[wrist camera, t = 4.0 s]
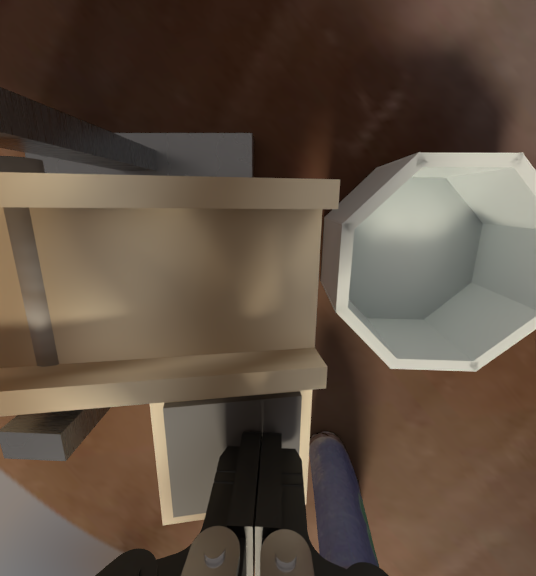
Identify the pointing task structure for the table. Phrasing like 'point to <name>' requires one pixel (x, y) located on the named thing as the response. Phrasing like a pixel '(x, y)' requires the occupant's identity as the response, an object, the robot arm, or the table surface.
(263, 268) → the lever
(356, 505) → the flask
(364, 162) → the table surface
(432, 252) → the cup
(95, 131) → the lever stand
